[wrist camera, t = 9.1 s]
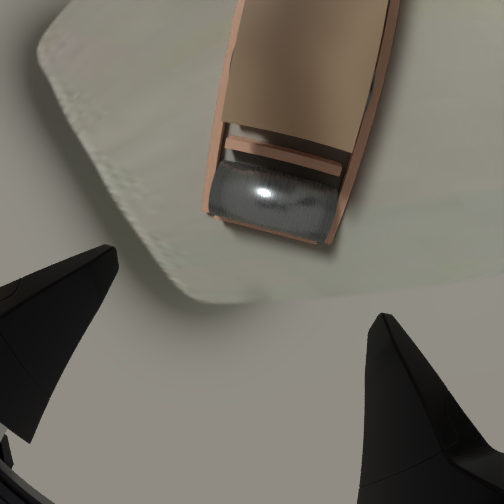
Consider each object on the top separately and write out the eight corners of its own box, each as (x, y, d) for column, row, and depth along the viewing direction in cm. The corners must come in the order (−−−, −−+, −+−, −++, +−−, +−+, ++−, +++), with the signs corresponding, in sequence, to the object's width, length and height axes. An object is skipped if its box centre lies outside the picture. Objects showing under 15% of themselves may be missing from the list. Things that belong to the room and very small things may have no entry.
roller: (321, 218, 19) (319, 254, 17) (224, 194, 19) (207, 225, 17) (336, 177, 16) (338, 210, 14) (228, 150, 17) (209, 178, 14)
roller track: (400, -19, 8) (406, -25, 7) (330, 240, 19) (331, 249, 18) (255, -53, 9) (251, -60, 8) (204, 207, 20) (198, 214, 19)
